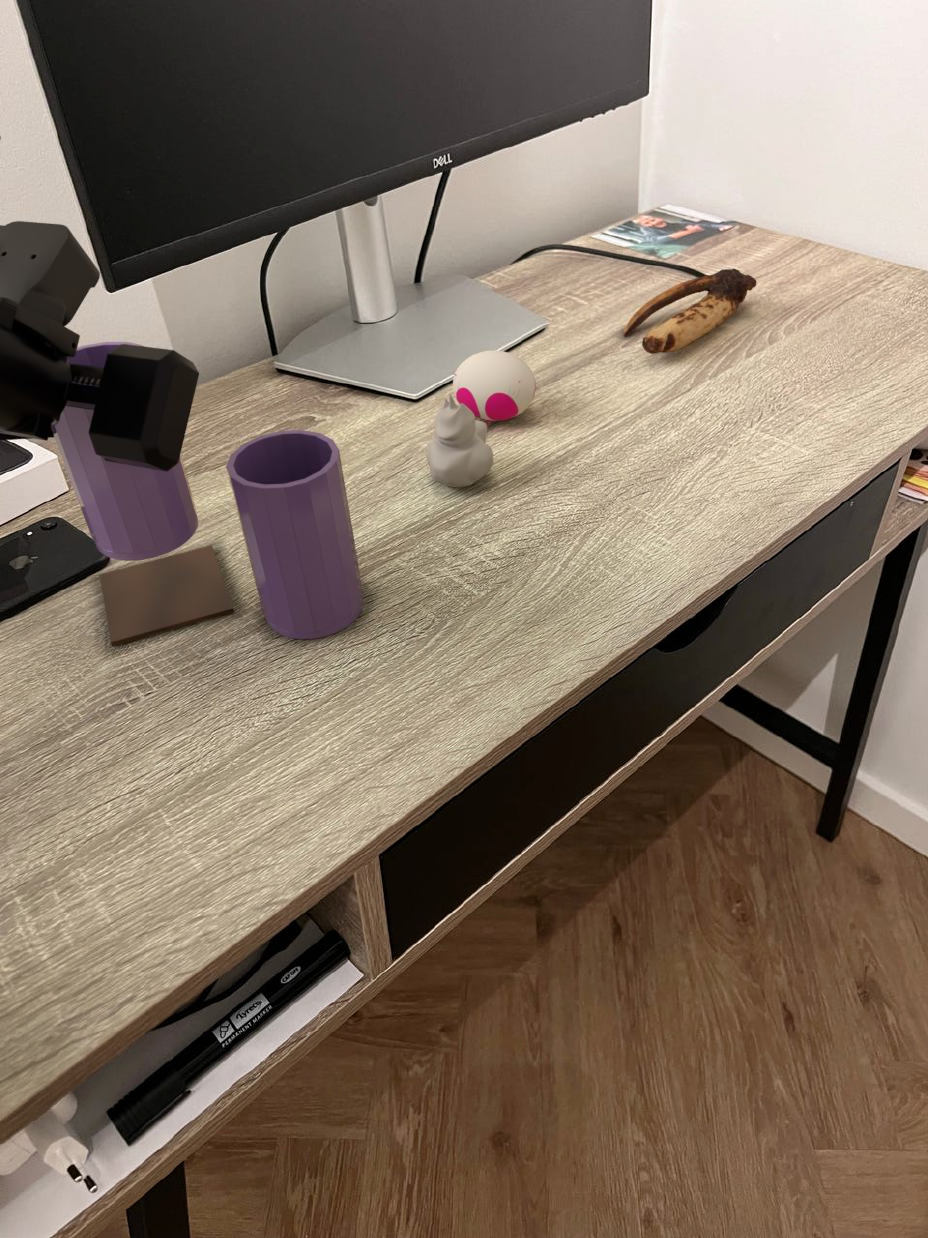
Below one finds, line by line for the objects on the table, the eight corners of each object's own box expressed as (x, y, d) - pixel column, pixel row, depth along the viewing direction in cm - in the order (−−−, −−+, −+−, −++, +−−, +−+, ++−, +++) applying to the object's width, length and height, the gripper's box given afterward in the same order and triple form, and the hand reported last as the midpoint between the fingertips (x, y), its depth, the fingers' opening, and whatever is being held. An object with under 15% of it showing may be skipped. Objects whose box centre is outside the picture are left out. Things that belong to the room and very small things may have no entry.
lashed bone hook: (686, 294, 107) (592, 352, 96) (689, 251, 104) (593, 304, 93) (766, 310, 101) (676, 372, 91) (771, 264, 99) (679, 322, 88)
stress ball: (453, 450, 90) (427, 415, 84) (479, 373, 91) (455, 333, 85) (529, 461, 87) (507, 426, 81) (554, 382, 88) (535, 341, 82)
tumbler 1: (118, 574, 63) (57, 404, 55) (80, 528, 67) (18, 365, 59) (215, 532, 66) (170, 365, 58) (173, 491, 70) (125, 331, 62)
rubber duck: (413, 488, 79) (402, 399, 74) (456, 451, 83) (449, 363, 78) (469, 505, 77) (463, 414, 72) (511, 465, 81) (508, 376, 76)
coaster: (112, 646, 66) (110, 642, 66) (100, 578, 72) (99, 574, 72) (234, 612, 68) (232, 608, 68) (213, 548, 74) (211, 544, 74)
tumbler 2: (277, 651, 65) (238, 498, 57) (255, 592, 70) (217, 445, 62) (375, 622, 67) (351, 470, 59) (347, 567, 72) (322, 420, 64)
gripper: (127, 197, 46) (286, 328, 60) (-162, 178, 52) (47, 301, 66) (71, 428, 45) (245, 503, 60) (-214, 382, 51) (8, 460, 66)
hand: (132, 434), depth 63 cm, fingers closed on tumbler 1, 7 cm apart
